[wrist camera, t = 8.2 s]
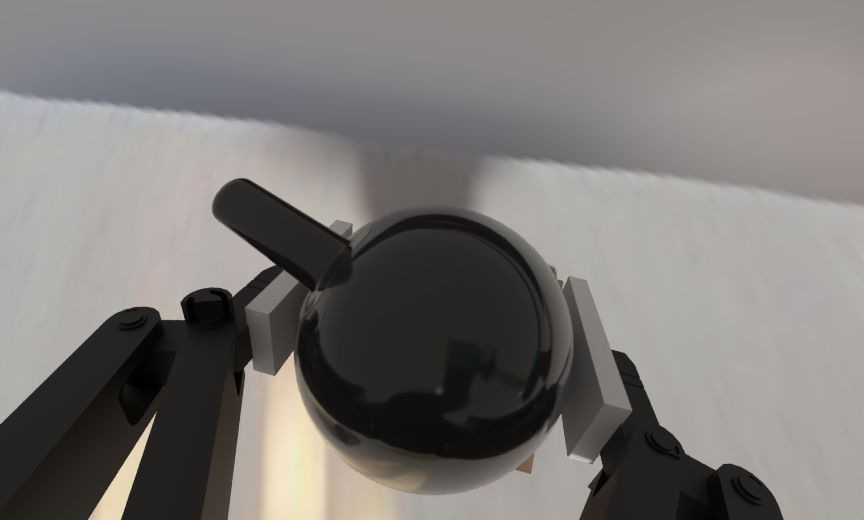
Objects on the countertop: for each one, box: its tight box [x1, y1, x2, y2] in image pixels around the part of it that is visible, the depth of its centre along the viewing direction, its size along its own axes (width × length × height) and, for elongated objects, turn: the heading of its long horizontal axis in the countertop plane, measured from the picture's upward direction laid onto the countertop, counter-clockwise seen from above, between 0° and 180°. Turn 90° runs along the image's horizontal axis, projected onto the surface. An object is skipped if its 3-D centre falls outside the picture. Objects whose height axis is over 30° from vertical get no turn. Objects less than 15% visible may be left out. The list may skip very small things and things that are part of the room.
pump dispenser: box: [212, 178, 575, 495], centre depth 13 cm, size 10×10×15 cm
